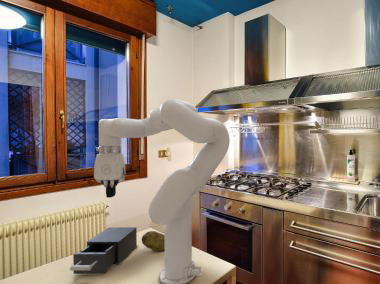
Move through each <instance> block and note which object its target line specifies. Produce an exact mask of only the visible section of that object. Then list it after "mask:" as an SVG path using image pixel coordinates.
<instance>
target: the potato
mask: <svg viewBox="0 0 380 284" xmlns="http://www.w3.org/2000/svg"><path fill="white" fill-rule="evenodd" d="M164 235H165V234H164V233H162V232H158V231H155V230H149V231H147V232H145V233H143V235H142V237H141V242H142V244H143V246H144V247H146V248H147V249H150V250H152V251H154V252H161V251H165V245H164Z"/></svg>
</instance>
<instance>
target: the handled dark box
mask: <svg viewBox="0 0 380 284" xmlns="http://www.w3.org/2000/svg"><path fill="white" fill-rule="evenodd" d="M72 257H73V259H72V262H73V264H71V266H70V267H69V271H73V274H74V275H105V274H107V273H108V269H109V268H110V267H111V266H112V265H114V264H113V263H114V262H115V261H116V260H117V244H90V245H89V246H87V245H86V247H84V248H83V249H81V250H80V252H74V253H73V254H72Z"/></svg>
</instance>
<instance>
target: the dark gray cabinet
mask: <svg viewBox="0 0 380 284" xmlns="http://www.w3.org/2000/svg"><path fill="white" fill-rule="evenodd" d="M137 233H138V231H137V227H136V226H135V227H132V226H131V227H121V226H119V227H117V226H116V227H107V228H106V229H104V230H102V231H101V232H100V233H98V234H97V235H95V236H93V237H92V238H91V239H89V240H86V247H87V246H89V245H90V244H117V260H116V261H115V262H114V263H113V264H112V265H120V264H121V263H122V262H123V261H124V260H125V259H126V258H127V257H128V256H129V255H130V254H132V253H133V251H134V250H136V248H138V247H137V245H138V244H137V243H138V242H137V241H138V240H137V239H138V238H137V235H138V234H137Z"/></svg>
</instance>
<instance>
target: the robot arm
mask: <svg viewBox="0 0 380 284" xmlns="http://www.w3.org/2000/svg"><path fill="white" fill-rule="evenodd" d="M170 130H175V131H176V132H177V133H179V134H180V135H181V136H184V137H185V138H186V139H188V140H189V141H191V142H193V143H196V144H204V145H203V147H202V148H200V150H199V151H198V152H197V153H196V154H195V156H194V158H193V159H192V160H191V162H190V163H189V164H188V165H187V166H185V167H183V168H179V169H176V170H174V171H173V172H171V173H170V174H169V175H168V176H167V177H166V178H165V180H164V181H163V183H162V184H161V186H160V187H159V189H158V190H157V192H156V193H155V195H154V196H153V198H152V199H151V201H150V203H149V207H148V216H149V218H150V220H151V222H153V223H154V224H156V225H158V226H163V225H164V233H163V235H164V245H165V250H164V269H163V270H162V271H161V272H160V274H159V280H160V283H162V284H187V283H189V282H190V281H192V280H194V278H195V277H200V276H201V275H202V267H201V266H200V265H195V260H193V242H192V241H193V213H194V208H195V198H194V195H196V194H197V193H199V192H201V191H202V190H203V189H204V188H205V187H206V185H207V183H208V182H209V180H210V178H211V177H212V176H213V174H214V173H215V171H216V170H217V168H218V166H219V165H220V164H221V163H222V161H223V160H224V158H225V156H226V155H227V152H228V150H229V147H230V143H231V141H230V140H231V139H230V133H229V131H228V129H227V126H226V125H225V124H224V123H223V122H222V121H220V120H218V119H215V118H210V117H205V116H202V115H201V114H199V112H198V109H197V108H196V106H195V105H193V103H191V102H188V101H185V100H182V99H179V98H169V99H167V100H165V101H163V103H161V105H160V107H158V108H154V109H152V110H151V111H150V112H149V115H148V117H145V118H141V119H136V118H125V117H115V118H103V119H100V120H99V121H98V147H96V148H95V151H96V152H98V153H97V154H96V155H95V159H94V167H93V178H94V179H95V181H96V183H100V184H102V185H103V187H104V188H105V197H106V199H107V198H114V197H115V196H116V193H117V190H116V189H117V186H118V185H119V184H120V183H123V182H125V181H126V178H125V177H126V162H125V157H124V154H123V153H122V139H141V138H145V137H150V136H154V135H157V134H160V133H162V132H165V131H170Z"/></svg>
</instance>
